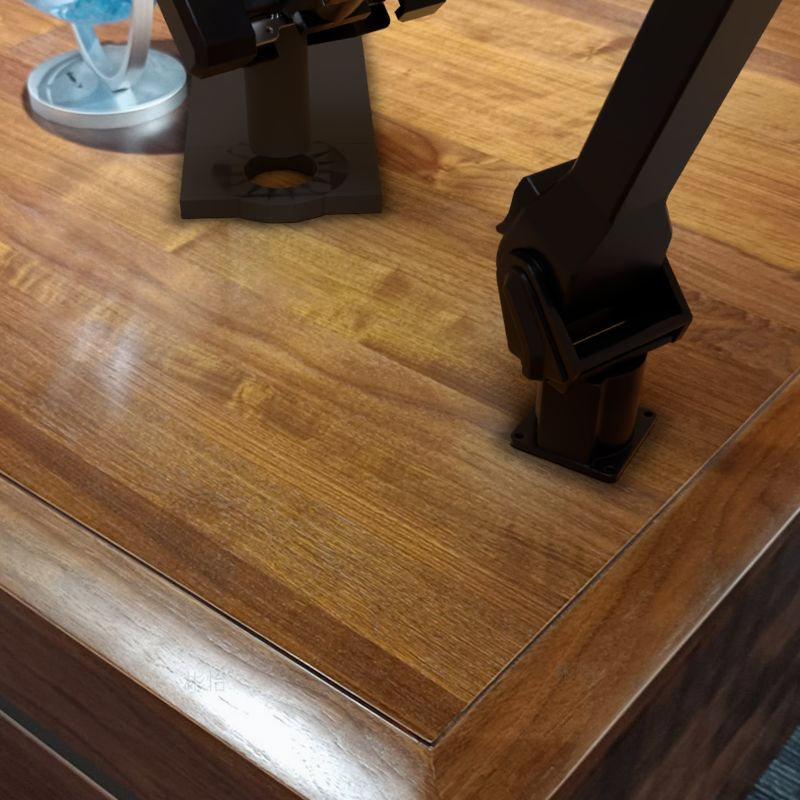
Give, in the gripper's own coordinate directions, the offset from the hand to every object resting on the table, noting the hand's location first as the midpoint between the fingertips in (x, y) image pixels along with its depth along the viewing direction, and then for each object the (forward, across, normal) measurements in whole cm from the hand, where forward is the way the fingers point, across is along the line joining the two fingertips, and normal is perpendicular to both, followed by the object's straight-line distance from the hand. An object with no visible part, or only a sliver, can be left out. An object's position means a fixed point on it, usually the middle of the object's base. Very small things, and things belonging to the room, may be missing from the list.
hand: (265, 48), depth 92 cm
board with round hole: (+14, -6, +1) cm, 15 cm away
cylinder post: (+4, 0, +6) cm, 7 cm away
